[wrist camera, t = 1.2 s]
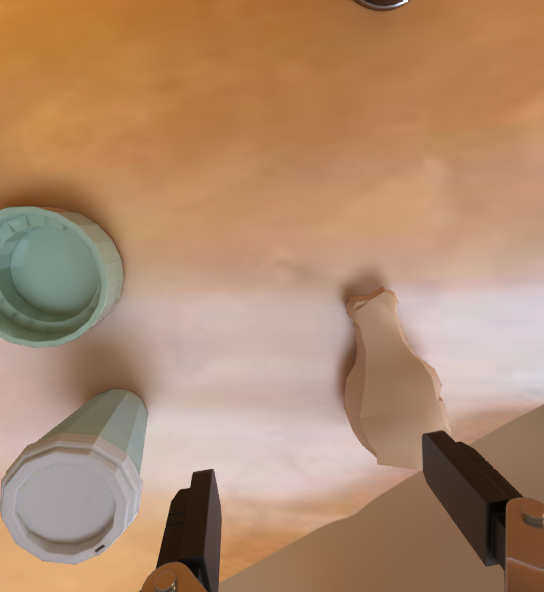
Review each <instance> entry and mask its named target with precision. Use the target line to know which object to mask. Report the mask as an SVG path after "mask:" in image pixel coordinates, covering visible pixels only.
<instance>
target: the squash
mask: <svg viewBox="0 0 544 592" xmlns="http://www.w3.org/2000/svg"><path fill="white" fill-rule="evenodd" d="M398 303H399V302H398V300H397V298H396V296H395V293H394V292H393V291H390V290H388V289H386V288H383V287H381V288H380V289H378V290H376V291H374V292H372V293H370V294H367V295H359V296H350V297H349V300H348V302H347V304H346V306H345V307H346V311H347V314H348V315H349V317H350V318H351V319H352V320H353V324H354V329H355V334H356V339H357V353H356V363H355V365H354V367H353V369H352V370H351V372H350V374H349V375H348V377H347V379H346V387H345V407H344V408H345V411H346V414H347V416H348V419H349V422H350V424H351V427H352V430H353V432H354V433H355V435H356V436H357V438H358V440H359V441H360V443H361V444H362V445H363V446H364V447H365V448H366V449H367V450H368V451H370V452H371V453H372V454H373V455H374V456H375V457H377V464H379V465H386V466H393V467H401V468H408V469H423V462H422V435H423V434H424V433H429V432H434V431H440V430H443V431H445V432H446V433H447V434H448V435H449V436H451V429H450V423H449V417H448V414H447V411H446V408H445V405H444V402H443V400H442V399H441V397H440V391H441V386H442V384H441V382H440V380H439V377H438V375H437V373H436V371H435V369H434V368H432V367H431V366H430V365H429V364H427V363H426V362H425V361H424V360H422V359H421V358H420V357H418V356H417V355H415V354H414V353H413V352H412V351H411V349H410V346H409V344H408V342H407V339H406V337H405V334H404V332H403V329H402V326H401V323H400V321H399V318H398V315H397V312H396V307H397V305H398Z"/></svg>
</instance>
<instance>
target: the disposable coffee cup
mask: <svg viewBox="0 0 544 592" xmlns="http://www.w3.org/2000/svg"><path fill="white" fill-rule="evenodd" d="M147 417H148V412H147V410H146V408H145V406H144V403H143V401H142V399H141V398H140V397H139V396H137V395H136V394H134V393H133V392H131V391H130V390H123V389H110V390H108V391H105V392H103V393H100V394H97V395H96V396H94V397H93V398H92V399H91V400H89V401H88V402H87V403H85V404H84V405H83V406H82V407H80V408H79V409H78V410H77V411H75V412H74V413H73V414H71V415H70V416H69V417H68V418H66V419H65V420H64V421H62V422H61V423H60V424H59V425H57V426H56V427H55V428H53V429H52V430H51V431H50V432H48V433H47V434H46V435H45V436H43V437H42V438H41V439H39V440H38V441H37V442H36V443H33V444H30V445H28V446H27V447H26V448H25V449H24V450H23V452H22V453H21V454H20V455H19V457H18V458H17V459H16V460H15V462H14V463H13V464H12V465H11V467H10V468H9V469H8V470H7V472H6V475H5V476H4V477H3V479H2V480H1V498H0V512H1V517H2V519H3V521H4V523H5V525H6V526H7V528H8V530H9V532H10V534H11V536H12V537H13V539H14V541H15V543H16V544H17V545H19V546H20V547H22V548H23V549H25V550H26V551H28V552H29V553H31V554H33V555H34V556H36V557H37V558H39V559H40V560H42V561H47V562H56V563H65V564H74V565H75V564H78V563H80V562H83V561H85V560H88V559H90V558H93V557H95V556H98V555H100V554H101V553H103V552H104V551H105V550H107V549H108V548H109V547H110V546H111V545H112V544H113V543H114V542H115V540H116V539H118V538H119V537H120V535H121V534H122V533H123V532H124V531H125V529H126V528H127V527H128V526H129V525H130V524H131V522H132V521H133V520H134V519H135V516H136V514H137V513H138V512H139V506H140V499H141V491H142V483H143V481H142V480H141V478H140V469H141V462H142V454H143V447H144V440H145V432H146V425H147Z"/></svg>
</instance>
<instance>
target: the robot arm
mask: <svg viewBox="0 0 544 592" xmlns="http://www.w3.org/2000/svg"><path fill="white" fill-rule="evenodd" d="M355 1H356V2H357V3H359V4H360V5H362V6H364V7H366V8H368V9H371V10H376V11H388V10H393V9H396V8H398V7H400V6H402V5H404V4H406V3H407V2H408V1H409V0H355ZM422 462H423V472H424V476H425V479H426V482H427V484H428V485H429V487H430V488H431V490H432V491H433V493H434V494H435V495H436V497H437V498H438V500H439V501H440V502H441V504H442V505H443V507H444V508H445V509H446V511H447V512H448V514H449V515H450V517H451V518H452V519H453V521H454V522H455V524H456V525H457V526H458V528H459V529H460V531H461V532H462V533H463V535H464V536H465V538H466V539H467V541H468V542H469V543H470V545H471V546H472V547H473V549H474V550H475V552H476V553H477V555H478V556H479V557H480V559H481V560H482V562H483V563H484V564H485V566H486V567H487V566H492V565H497V564H500V565H501V567H502V568H503V570H504V592H544V503H542V502H539V501H537V500H534V499H530V498H524V497H523V496H522V495H521V494H520V493H519V492H518V491H517V490H516V489H515V488H514V487H513V486H512V485H511V484H510V483H509V482H508V481H507V480H506V479H505V478H504V477H503V476H501V474H500V473H499V472H498V471H497V470H495V469H493V467H492V466H491V465H490V464H489V463H488V462H487V461H485V459H484V458H483V457H482V456H481V455H480V454H479V453H478V452H477V451H476V450H475V449H474V448H471V447H470V446H468V445H466V444H464V443H463V442H455V441H454V440H453V439H452V438H451V437H450V436H449V435H448V434H447V433H446V432H445V431H443V430H440V431H434V432H429V433H424V434H423V435H422ZM221 524H222V517H221V505H220V499H219V494H218V489H217V483H216V478H215V473H214V469H209V470H203V471H197V472H193V475H192V480H191V486H190V488H187V489H181V490H179V491H178V493H177V494H176V496H175V497H174V498H173V500H172V501H171V505H170V509H169V514H168V518H167V522H166V528H165V531H164V536H163V540H162V544H161V549H160V553H159V557H158V562H157V566H156V569H155V570H154V571H153V572H152V573H151V574H150V575H149V576H148V578H147V579H146V581H145V582H144V584H143V587H142V590H141V591H140V592H218V585H219V565H220V545H221Z"/></svg>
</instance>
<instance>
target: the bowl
mask: <svg viewBox="0 0 544 592" xmlns="http://www.w3.org/2000/svg"><path fill="white" fill-rule="evenodd" d="M123 280H124V275H123V267H122V260H121V257H120V255H119V253H118V251H117V249H116V247H115V244H114V242H113V241H112V239H111V238H110V237H109V236H108V235H107V234H106V233H105V232H104V230H103V229H102V228H101V227H100V226H99V225H98V224H96V223H95V222H93V221H91V220H90V219H88V218H86V217H85V216H83V215H81V214H80V213H76V212H73V211H69V210H65V209H61V208H53V207H37V206H24V207H7V208H4V209H2V210H0V337H1V338H3V339H5V340H7V341H9V342H11V343H14V344H19V345H24V346H29V347H33V348H34V347H35V348H39V347H53V346H59V345H62V344H64V343H67V342H69V341H72V340H75V339H77V338H79V337H80V336H81V335H83V334H84V333H85V332H87V331H88V330H89V329H91V328H92V327H93V326H94V325H96V324H97V323H98V322H100V321H101V320H102V319H103V318H104V317H106V316H107V315H108V314H109V313H110V312H111V311H112V309H113V308H114V306H115V304H116V303H117V301H118V299H119V298H120V295H121V290H122V285H123Z"/></svg>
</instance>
